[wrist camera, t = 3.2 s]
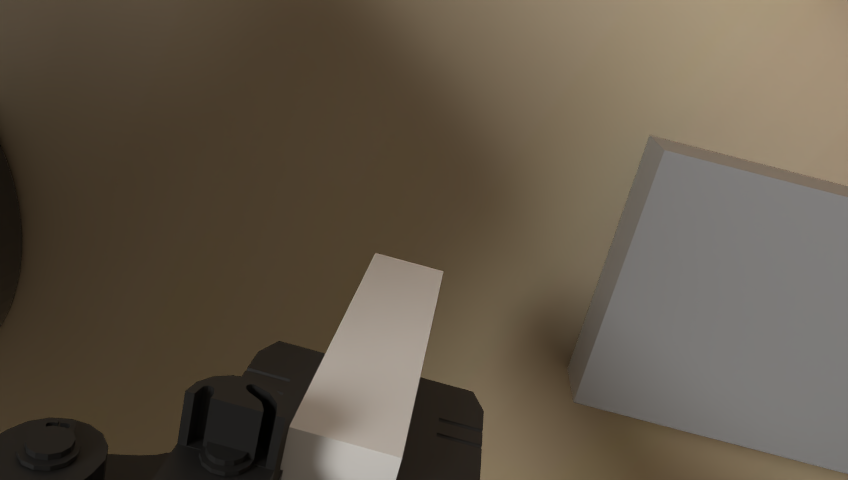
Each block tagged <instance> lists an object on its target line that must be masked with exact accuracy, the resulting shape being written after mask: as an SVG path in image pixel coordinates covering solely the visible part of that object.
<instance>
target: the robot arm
mask: <svg viewBox="0 0 848 480" xmlns="http://www.w3.org/2000/svg"><path fill="white" fill-rule="evenodd" d="M21 255H22V232H21V219H20V212H19V205H18V200H17V195H16V190H15V186H14V183H13V179H12V176H11V172H10V169H9V166H8V164H7V161H6V158H5V155H4V153H3V150H2V148H1V146H0V326H1V324H2V322H3V321H4V319H5V317H6V314H7V312H8V310H9V308H10V305H11V303H12V300H13V297H14V294H15V290H16V287H17V283H18V278H19V272H20V265H21ZM443 272H444V271H441V270H437V269H433V268H430V267H426V266H422V265H419V264H415V263H411V262H408V261H404V260H400V259H396V258H393V257H389V256H385V255H382V254H378V253H375V255H374V257H373V259H372V261H371V263H370V265H369V267H368V269H367V271H366V273H365V275H364V277H363V279H362V281H361V283H360V285H359V287H358V289H357V291H356V293H355V295H354V297H353V299H352V301H351V303H350V305H349V307H348V309H347V311H346V313H345V315H344V317H343V319H342V321H341V323H340V325H339V327H338V329H337V331H336V333H335V335H334V337H333V339H332V341H331V343H330V345H329V347H328V349H327V351H326V353H321V352H317V351H314V350H310V349H306V348H303V347H299V346H295V345H292V344H288V343H284V342H281V341H278V342H277V343H275V344H273V345H271V346H269V347H267V348H265V349H263V350H261V351H259V352H258V353H257V355H256V356H255V358H254V359H253V361H252V362H251V364H250V365H249V366H248V369H247V371H245V372H244V374H243V375H242V377H240V376H234V375H232V376H215V377H211V378H208V379H205V380H201V381H198V382H196V383H195V384H194V385H192V386H191V387H190V388H189V389H187V390H186V391H185V397H184V404H183V410H182V417H181V424H180V430H179V437H178V443H177V445H176V447H175V448H174V449H173V451H172V452H170V453H164V454H159V455H143V456H137V455H113V454H107V453H108V445H107V443H106V440H105V438H104V436H103V434H102V433H100V432H99V431H98V430H96V429H95V428H94V427H92V426H91V425H89V424H86V423H83V422H80V421H76V420H73V419H62V418H46V419H40V420H33V421H27V422H25V423H23V424H20V425H18V426H15V427H13V428H10V429H8V430H6V431H4V432H3V433H1V434H0V480H480V469H481V450H482V449H481V446H482V430H483V413H484V411H483V409H482V407H481V405H480V404H479V402H478V400H477V398H476V396H475V395H474V393H473V392H472V391H468V390H464V389H461V388H457V387H453V386H450V385H446V384H442V383H439V382H435V381H431V380H428V379H424V378H420V375H421V371H422V366H423V362H424V357H425V353H426V348H427V344H428V339H429V335H430V330H431V326H432V321H433V317H434V312H435V308H436V303H437V299H438V294H439V290H440V285H441V281H442V276H443Z"/></svg>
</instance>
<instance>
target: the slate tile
mask: <svg viewBox="0 0 848 480" xmlns="http://www.w3.org/2000/svg"><path fill="white" fill-rule="evenodd" d="M567 369H568V375H569V380H570V386H571V392H572V397H573V402H575V403H578V404H582V405H586V406H590V407H594V408H597V409H601V410H605V411H609V412H613V413H617V414H620V415H624V416H628V417H632V418H636V419H639V420H643V421H647V422H651V423H655V424H659V425H662V426H666V427H670V428H674V429H678V430H681V431H685V432H689V433H693V434H697V435H701V436H704V437H708V438H712V439H716V440H720V441H724V442H727V443H731V444H735V445H739V446H743V447H746V448H750V449H754V450H758V451H762V452H766V453H769V454H773V455H777V456H781V457H785V458H788V459H792V460H796V461H800V462H804V463H808V464H811V465H815V466H819V467H823V468H827V469H830V470H834V471H838V472H842V473H846V474H848V186H845V185H841V184H837V183H833V182H829V181H825V180H821V179H818V178H814V177H810V176H806V175H802V174H798V173H794V172H790V171H787V170H783V169H779V168H775V167H771V166H767V165H763V164H759V163H755V162H752V161H748V160H744V159H740V158H736V157H732V156H728V155H724V154H721V153H717V152H713V151H709V150H705V149H701V148H697V147H693V146H689V145H686V144H682V143H678V142H674V141H670V140H666V139H662V138H658V137H655V136H651V135H650V136H649V138H648V141H647V144H646V147H645V150H644V153H643V155H642V158H641V161H640V164H639V167H638V170H637V172H636V175H635V178H634V181H633V184H632V187H631V189H630V192H629V195H628V198H627V201H626V204H625V206H624V209H623V212H622V215H621V218H620V221H619V224H618V226H617V229H616V232H615V235H614V238H613V241H612V243H611V246H610V249H609V252H608V255H607V258H606V260H605V263H604V266H603V269H602V272H601V275H600V277H599V280H598V283H597V286H596V289H595V292H594V294H593V297H592V300H591V303H590V306H589V309H588V312H587V314H586V317H585V320H584V323H583V326H582V329H581V331H580V334H579V337H578V340H577V343H576V346H575V348H574V351H573V354H572V357H571V360H570V363H569V365H568V368H567Z"/></svg>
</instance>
